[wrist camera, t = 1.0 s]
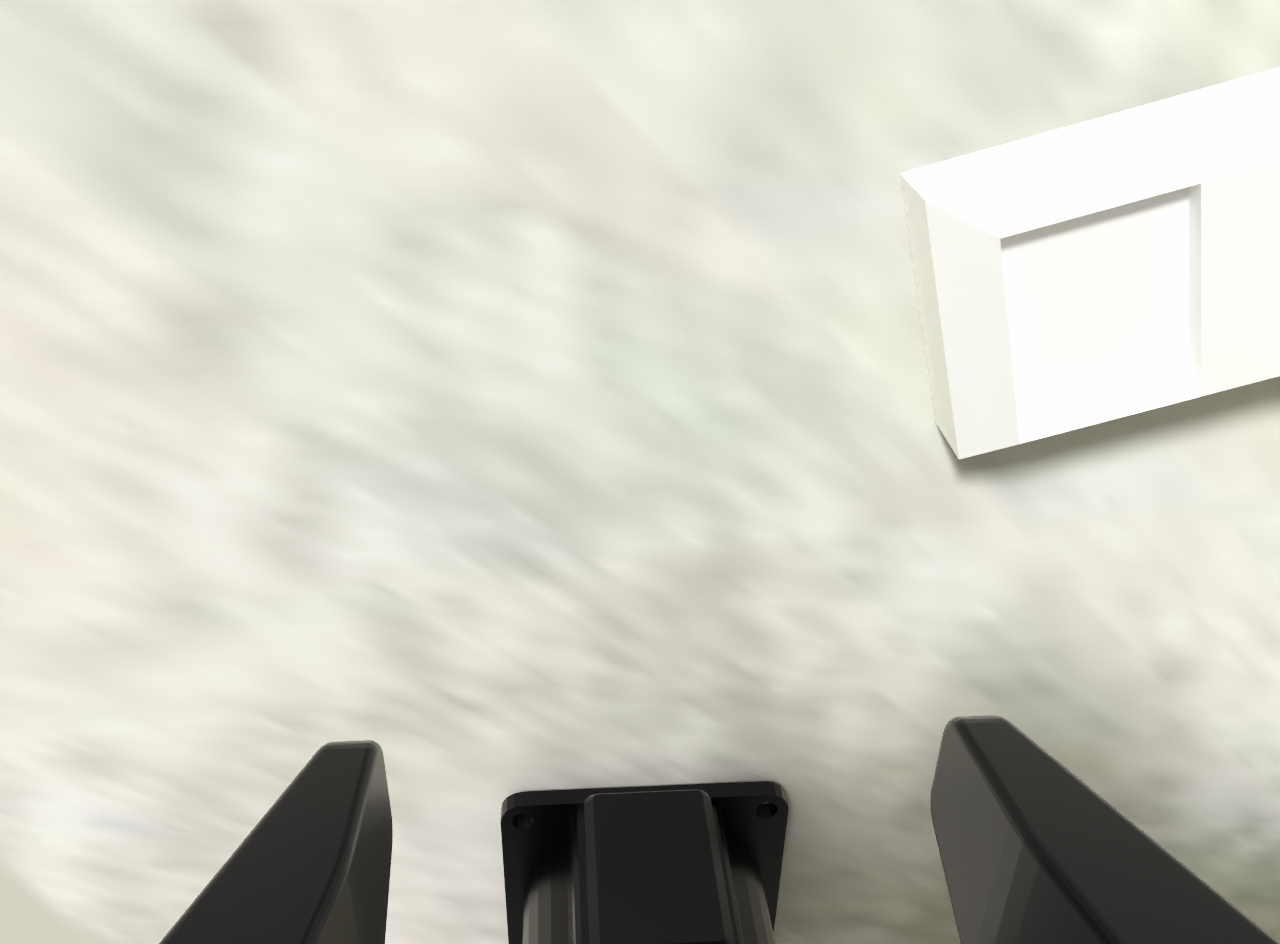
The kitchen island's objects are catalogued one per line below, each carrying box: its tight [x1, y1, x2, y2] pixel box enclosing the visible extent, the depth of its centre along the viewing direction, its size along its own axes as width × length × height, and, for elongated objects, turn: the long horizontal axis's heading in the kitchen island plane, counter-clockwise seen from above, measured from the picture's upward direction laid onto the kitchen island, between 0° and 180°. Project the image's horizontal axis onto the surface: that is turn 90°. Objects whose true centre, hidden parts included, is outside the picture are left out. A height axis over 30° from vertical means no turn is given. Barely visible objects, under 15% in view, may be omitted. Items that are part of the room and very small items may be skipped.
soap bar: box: [900, 67, 1280, 460], centre depth 19 cm, size 5×9×3 cm, turn 105°
